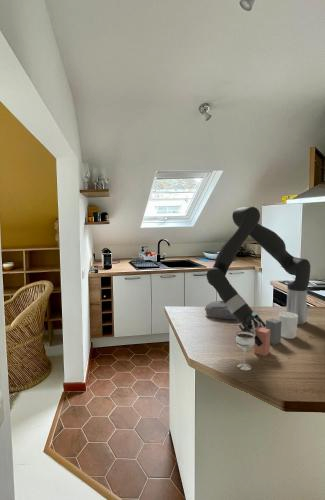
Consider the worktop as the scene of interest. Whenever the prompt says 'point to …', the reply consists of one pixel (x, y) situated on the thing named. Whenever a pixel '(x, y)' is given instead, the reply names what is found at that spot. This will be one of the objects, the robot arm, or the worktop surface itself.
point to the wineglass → (245, 345)
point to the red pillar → (265, 338)
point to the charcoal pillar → (274, 330)
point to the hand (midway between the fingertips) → (265, 341)
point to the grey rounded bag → (218, 310)
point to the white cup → (288, 324)
